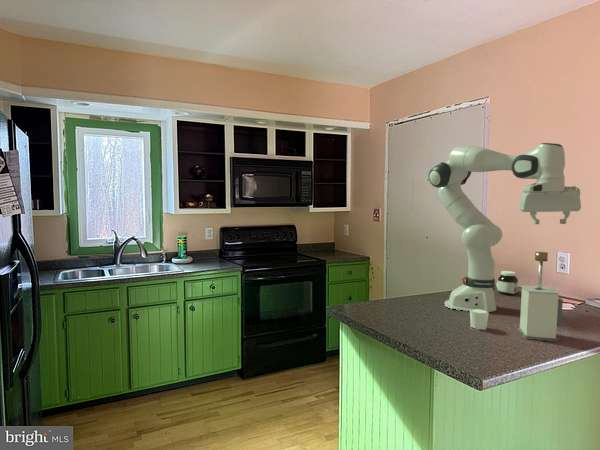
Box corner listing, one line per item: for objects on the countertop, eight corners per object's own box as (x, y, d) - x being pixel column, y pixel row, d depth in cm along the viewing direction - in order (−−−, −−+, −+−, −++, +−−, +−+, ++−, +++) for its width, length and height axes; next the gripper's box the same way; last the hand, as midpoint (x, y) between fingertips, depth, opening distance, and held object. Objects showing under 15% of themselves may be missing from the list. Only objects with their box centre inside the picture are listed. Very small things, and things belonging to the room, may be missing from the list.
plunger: (530, 307, 152) (533, 253, 150) (525, 302, 159) (528, 250, 157) (552, 309, 150) (555, 254, 148) (546, 303, 157) (549, 251, 155)
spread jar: (507, 296, 213) (509, 274, 212) (488, 291, 223) (489, 270, 222) (522, 293, 219) (523, 272, 218) (502, 289, 229) (503, 268, 228)
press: (525, 339, 152) (527, 291, 150) (518, 329, 162) (520, 285, 160) (564, 342, 148) (567, 293, 147) (554, 332, 158) (557, 287, 157)
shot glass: (465, 326, 165) (465, 309, 165) (478, 324, 168) (479, 307, 167) (478, 332, 159) (478, 314, 158) (491, 330, 161) (492, 312, 161)
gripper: (575, 186, 155) (574, 223, 156) (518, 187, 158) (517, 223, 159) (585, 185, 149) (584, 224, 150) (525, 187, 151) (524, 224, 152)
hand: (549, 224), depth 154 cm, fingers open, 8 cm apart
